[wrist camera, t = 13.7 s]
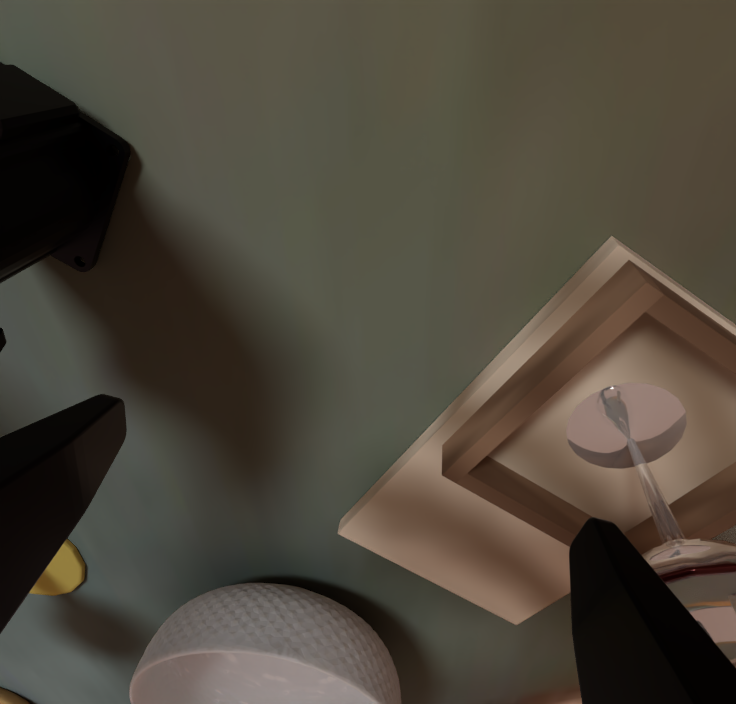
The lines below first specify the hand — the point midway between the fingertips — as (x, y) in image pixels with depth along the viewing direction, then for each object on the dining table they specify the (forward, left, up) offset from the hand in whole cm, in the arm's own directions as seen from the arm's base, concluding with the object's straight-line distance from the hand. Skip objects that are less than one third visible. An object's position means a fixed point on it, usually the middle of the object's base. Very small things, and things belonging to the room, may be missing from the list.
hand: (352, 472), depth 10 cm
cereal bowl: (-28, -9, -13) cm, 32 cm away
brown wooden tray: (-6, -13, -13) cm, 19 cm away
